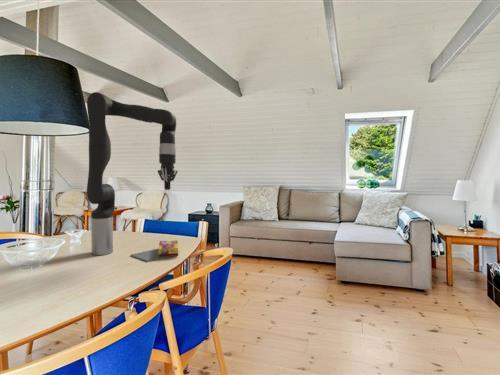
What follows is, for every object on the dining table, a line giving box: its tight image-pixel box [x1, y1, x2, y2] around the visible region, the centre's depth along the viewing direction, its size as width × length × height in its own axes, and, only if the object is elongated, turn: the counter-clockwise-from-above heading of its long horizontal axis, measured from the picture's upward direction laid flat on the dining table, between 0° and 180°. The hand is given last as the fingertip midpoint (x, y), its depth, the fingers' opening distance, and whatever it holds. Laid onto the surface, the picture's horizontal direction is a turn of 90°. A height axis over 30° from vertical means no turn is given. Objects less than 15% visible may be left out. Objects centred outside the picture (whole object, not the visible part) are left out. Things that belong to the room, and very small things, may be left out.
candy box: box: [158, 239, 179, 258], centre depth 138 cm, size 9×4×15 cm
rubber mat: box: [130, 247, 170, 263], centre depth 136 cm, size 14×16×1 cm
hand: (167, 189), depth 137 cm, fingers closed
